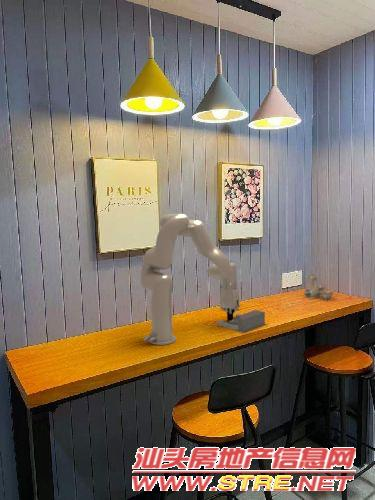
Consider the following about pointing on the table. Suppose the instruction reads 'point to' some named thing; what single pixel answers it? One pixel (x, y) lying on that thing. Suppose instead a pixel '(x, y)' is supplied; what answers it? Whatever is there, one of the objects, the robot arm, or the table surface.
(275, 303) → the table surface
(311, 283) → the chinaware
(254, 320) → the steel lip bracket
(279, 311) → the table surface
